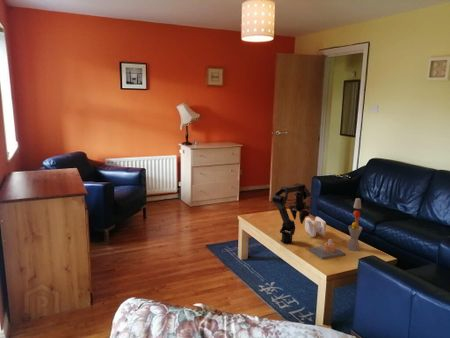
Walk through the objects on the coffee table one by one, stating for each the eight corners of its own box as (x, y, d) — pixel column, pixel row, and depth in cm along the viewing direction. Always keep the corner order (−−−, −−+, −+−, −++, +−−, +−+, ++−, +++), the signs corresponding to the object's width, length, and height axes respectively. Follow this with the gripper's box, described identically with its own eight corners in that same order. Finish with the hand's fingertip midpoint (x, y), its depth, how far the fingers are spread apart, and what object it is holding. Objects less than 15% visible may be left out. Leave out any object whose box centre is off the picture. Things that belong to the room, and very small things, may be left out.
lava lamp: (349, 244, 246) (353, 196, 239) (362, 247, 240) (367, 198, 233) (344, 248, 239) (348, 198, 232) (357, 252, 233) (362, 201, 227)
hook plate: (322, 259, 222) (323, 245, 220) (309, 250, 235) (309, 237, 233) (344, 255, 229) (346, 241, 227) (331, 246, 241) (332, 234, 239)
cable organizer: (325, 237, 257) (327, 222, 255) (312, 238, 255) (313, 223, 253) (316, 230, 272) (317, 215, 269) (303, 231, 269) (304, 216, 267)
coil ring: (328, 253, 228) (328, 247, 227) (321, 248, 234) (322, 243, 233) (337, 251, 230) (337, 245, 229) (330, 247, 237) (330, 241, 236)
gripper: (316, 203, 246) (315, 224, 249) (302, 196, 263) (300, 216, 266) (302, 204, 242) (301, 226, 245) (289, 197, 259) (287, 217, 262)
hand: (298, 221), depth 255 cm, fingers open, 9 cm apart
